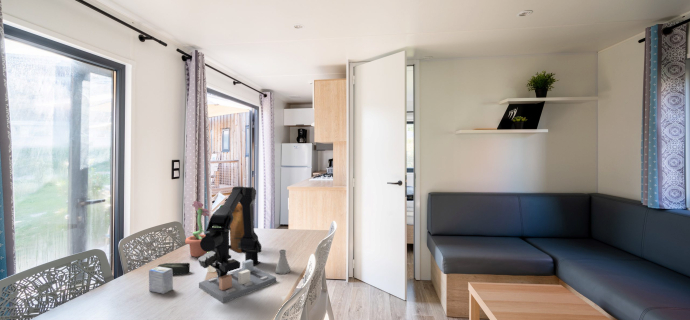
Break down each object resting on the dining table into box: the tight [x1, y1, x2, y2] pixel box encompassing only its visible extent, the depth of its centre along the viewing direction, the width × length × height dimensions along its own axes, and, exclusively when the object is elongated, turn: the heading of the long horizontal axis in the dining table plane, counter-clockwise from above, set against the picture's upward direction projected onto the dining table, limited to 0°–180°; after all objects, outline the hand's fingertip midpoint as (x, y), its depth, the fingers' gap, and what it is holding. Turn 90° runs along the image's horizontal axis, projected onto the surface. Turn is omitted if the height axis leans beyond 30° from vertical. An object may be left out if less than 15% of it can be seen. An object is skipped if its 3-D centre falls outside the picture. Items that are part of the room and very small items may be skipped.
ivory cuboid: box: [238, 270, 250, 285], centre depth 120 cm, size 2×4×4 cm, turn 140°
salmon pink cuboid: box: [219, 274, 232, 290], centre depth 115 cm, size 2×4×4 cm, turn 140°
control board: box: [198, 266, 277, 304], centre depth 123 cm, size 20×24×3 cm
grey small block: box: [241, 259, 254, 271], centre depth 131 cm, size 2×4×4 cm, turn 140°
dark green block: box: [156, 262, 191, 276], centre depth 133 cm, size 5×3×15 cm
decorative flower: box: [185, 200, 210, 258], centre depth 159 cm, size 15×14×30 cm
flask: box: [274, 249, 291, 275], centre depth 137 cm, size 7×7×10 cm
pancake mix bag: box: [229, 202, 245, 254], centre depth 167 cm, size 7×19×28 cm, turn 49°
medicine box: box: [148, 266, 174, 295], centre depth 117 cm, size 8×4×9 cm, turn 71°
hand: (221, 282), depth 117 cm, fingers closed
